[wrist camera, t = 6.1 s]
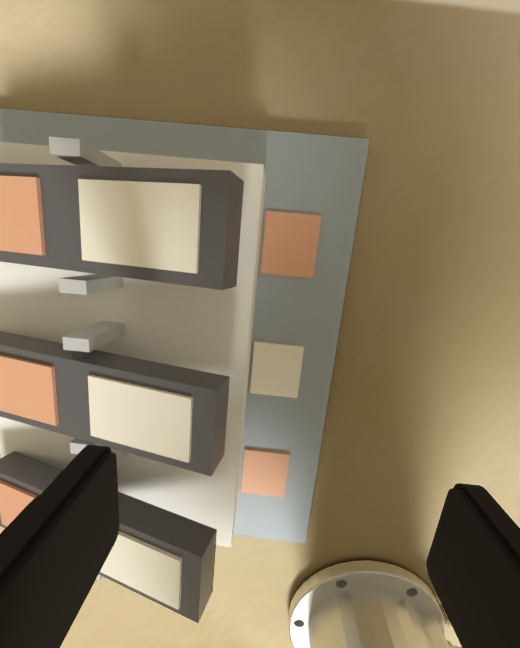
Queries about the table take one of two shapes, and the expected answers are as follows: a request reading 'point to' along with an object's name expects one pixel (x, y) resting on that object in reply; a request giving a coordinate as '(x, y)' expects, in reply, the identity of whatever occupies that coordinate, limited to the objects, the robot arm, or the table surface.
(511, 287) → the table surface
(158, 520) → the rocker
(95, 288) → the switch unit
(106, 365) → the rocker
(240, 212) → the rocker
